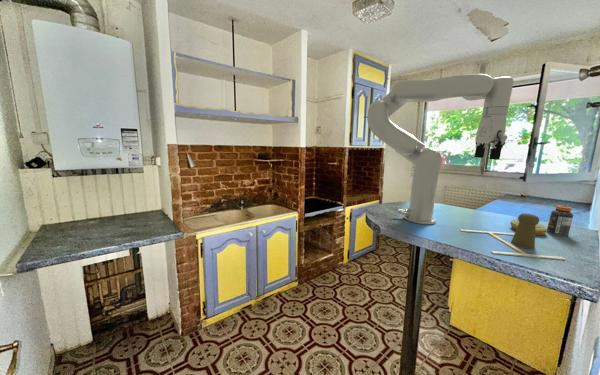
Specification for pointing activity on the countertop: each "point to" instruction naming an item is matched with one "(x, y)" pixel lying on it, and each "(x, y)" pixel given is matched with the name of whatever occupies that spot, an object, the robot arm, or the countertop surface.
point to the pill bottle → (560, 221)
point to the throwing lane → (512, 246)
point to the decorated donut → (539, 229)
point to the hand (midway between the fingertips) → (486, 158)
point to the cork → (525, 231)
